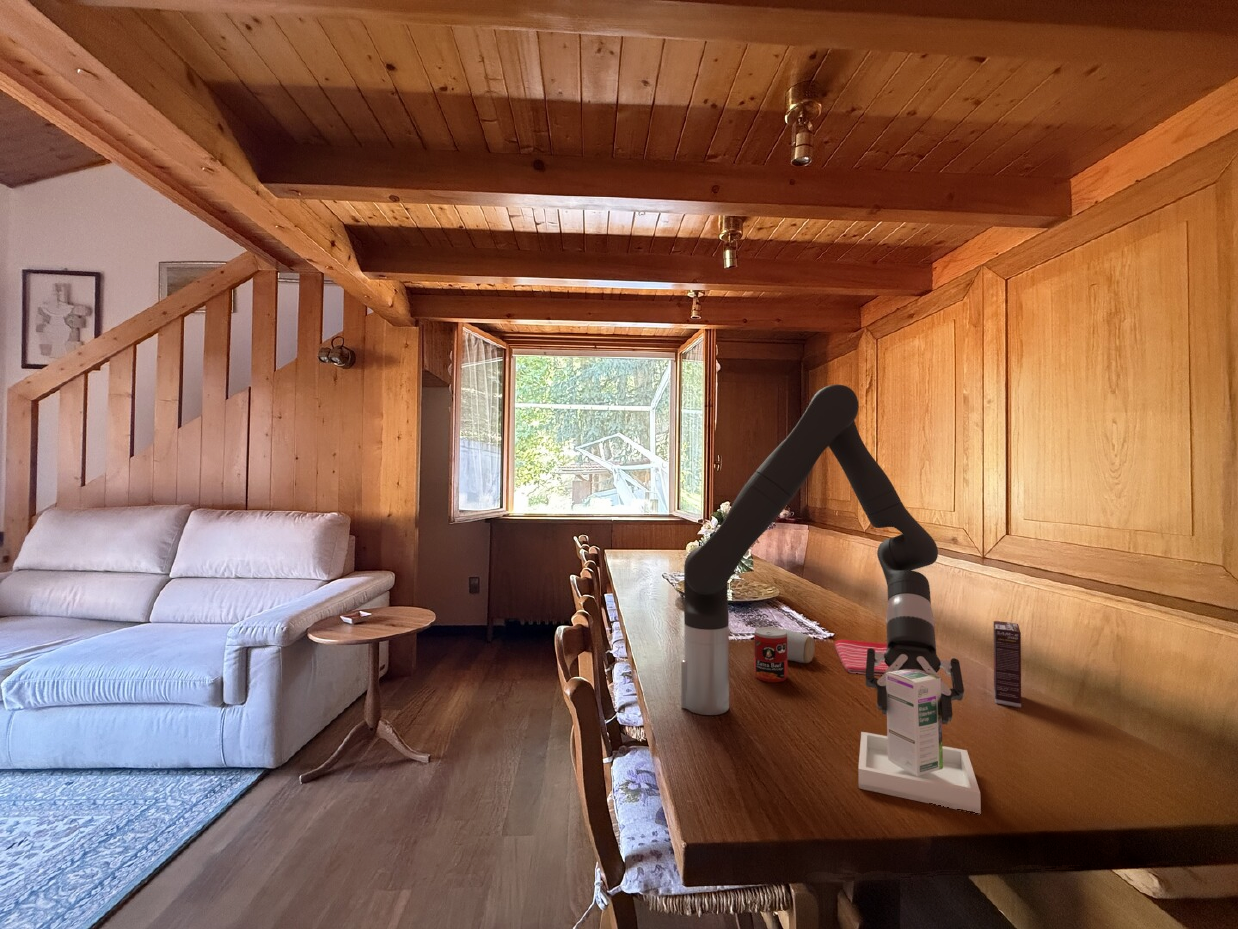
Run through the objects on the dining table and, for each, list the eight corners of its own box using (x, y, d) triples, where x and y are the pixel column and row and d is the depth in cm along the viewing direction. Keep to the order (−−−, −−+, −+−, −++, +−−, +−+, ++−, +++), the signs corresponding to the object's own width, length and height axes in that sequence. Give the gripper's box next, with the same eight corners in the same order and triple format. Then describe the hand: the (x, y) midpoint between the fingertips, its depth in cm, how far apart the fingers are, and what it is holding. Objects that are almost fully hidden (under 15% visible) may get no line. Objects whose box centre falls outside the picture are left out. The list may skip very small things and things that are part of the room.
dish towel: (897, 651, 157) (897, 642, 157) (921, 681, 134) (921, 670, 134) (832, 647, 161) (832, 638, 161) (845, 675, 138) (845, 664, 138)
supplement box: (1022, 708, 117) (1021, 632, 117) (994, 703, 119) (993, 628, 120) (1019, 695, 124) (1018, 623, 124) (993, 690, 127) (992, 620, 127)
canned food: (752, 680, 133) (752, 633, 133) (757, 669, 140) (756, 625, 141) (785, 684, 130) (785, 637, 130) (788, 673, 138) (788, 628, 138)
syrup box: (918, 778, 86) (917, 682, 86) (885, 760, 91) (885, 670, 91) (943, 770, 88) (942, 677, 88) (910, 753, 93) (909, 665, 94)
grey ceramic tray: (858, 788, 87) (858, 768, 87) (861, 748, 99) (861, 731, 99) (980, 814, 80) (980, 793, 80) (967, 768, 92) (966, 750, 92)
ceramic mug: (806, 667, 142) (806, 637, 142) (775, 661, 147) (775, 631, 147) (820, 658, 150) (820, 629, 151) (790, 652, 155) (790, 624, 156)
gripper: (865, 610, 99) (864, 699, 89) (958, 619, 93) (969, 715, 83) (866, 633, 104) (865, 719, 94) (955, 642, 98) (965, 736, 87)
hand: (914, 717), depth 88 cm, fingers closed on syrup box, 8 cm apart
